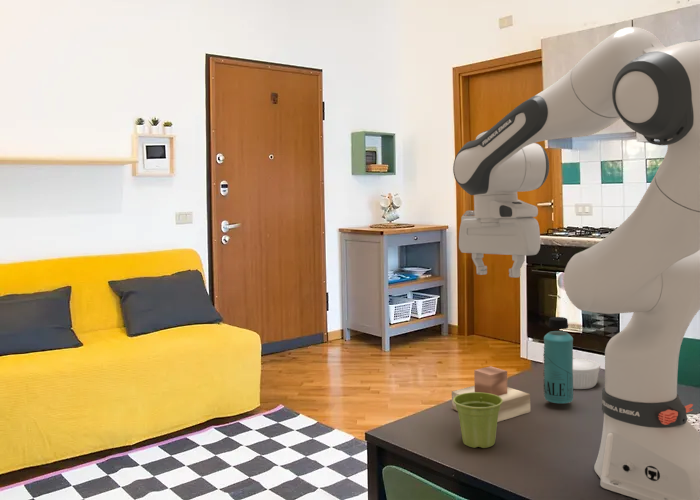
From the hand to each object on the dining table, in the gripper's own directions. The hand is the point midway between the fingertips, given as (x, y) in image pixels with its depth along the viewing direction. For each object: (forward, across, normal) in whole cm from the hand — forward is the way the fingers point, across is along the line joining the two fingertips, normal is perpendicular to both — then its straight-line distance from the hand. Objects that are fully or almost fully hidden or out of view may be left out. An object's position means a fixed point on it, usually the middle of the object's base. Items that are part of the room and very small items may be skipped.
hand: (497, 275), depth 135 cm
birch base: (+30, -6, +3) cm, 31 cm away
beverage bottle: (+31, +1, +17) cm, 35 cm away
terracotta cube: (+26, -6, +3) cm, 27 cm away
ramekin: (+30, -7, +33) cm, 45 cm away
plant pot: (+31, +6, -12) cm, 34 cm away
